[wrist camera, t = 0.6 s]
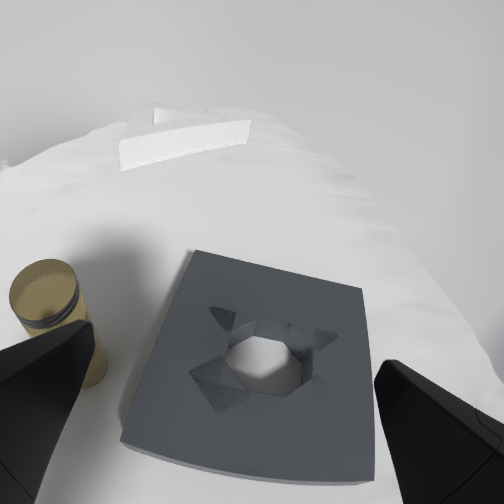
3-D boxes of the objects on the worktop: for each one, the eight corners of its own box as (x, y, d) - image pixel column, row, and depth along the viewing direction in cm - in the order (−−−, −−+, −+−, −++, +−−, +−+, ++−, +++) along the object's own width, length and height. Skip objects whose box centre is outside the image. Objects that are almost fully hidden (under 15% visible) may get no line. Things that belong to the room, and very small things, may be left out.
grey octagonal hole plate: (355, 485, 17) (374, 480, 15) (128, 448, 17) (119, 440, 15) (350, 305, 32) (361, 288, 30) (194, 270, 32) (195, 249, 30)
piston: (84, 399, 19) (35, 335, 12) (46, 365, 20) (-3, 291, 13) (118, 358, 22) (91, 281, 16) (80, 329, 23) (48, 248, 17)
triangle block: (246, 145, 64) (251, 119, 60) (197, 195, 45) (201, 158, 41) (136, 122, 67) (137, 99, 63) (64, 160, 47) (62, 131, 43)
